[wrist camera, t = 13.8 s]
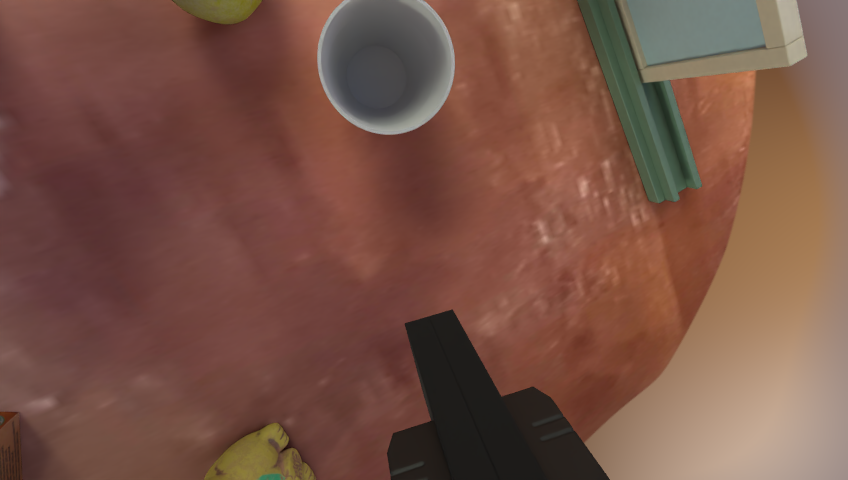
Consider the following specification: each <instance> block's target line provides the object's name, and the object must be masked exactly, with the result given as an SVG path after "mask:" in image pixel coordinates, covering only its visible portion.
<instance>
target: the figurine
mask: <svg viewBox="0 0 848 480" xmlns="http://www.w3.org/2000/svg"><path fill="white" fill-rule="evenodd" d="M288 441H289V438H288V436H287V435H286V433H285V432H284V430H283V428H282V427H281V426H280V425H279V423H272V424H269V425H267V426H265V427H264V428H263V429H261V430H259V431H256V432H253V433H251V434H248V435H246V436H244V437H243V438H241V439H240V440H238V441H237V442H235V443H234V444H233V445H232V446H230V447H229V448H228V449H227V450H226V451H225V452H224V453H223V454H222V455H221V456H220V457H219V459H218V460H217V461H216V462H215V463H214V464H213V465H212V466H211V468H210V469H209V471H208V472H207V474H206V476H205V478H204V480H316V477H315V475H314V474H313V471H312V470H311V469H310V467H309V466H308V465H307V464H306V463H304V462H302V460H301V457H300V455H299V453H298V451H297V450H296V449H295V448H289V449H286V450H283V449H284V448H285V447H286V445H287V444H288ZM282 450H283V451H282Z"/></svg>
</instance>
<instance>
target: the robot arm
mask: <svg viewBox="0 0 848 480" xmlns="http://www.w3.org/2000/svg"><path fill="white" fill-rule="evenodd" d="M405 327H406V330H407V334H408V338H409V342H410V345H411V349H412V353H413V357H414V360H415V364H416V368H417V372H418V375H419V379H420V383H421V387H422V390H423V394H424V398H425V401H426V404H427V408H428V411H429V414H430V418H431V421H430V422H427V423H424V424H421V425H418V426H414V427H411V428H408V429H405V430H402V431H399V432H396V433H393V436H392V439H391V442H390V445H389V448H388V452H387V456H388V463H389V469H390V475H391V480H610V479H609V478H608V476H607V475H606V473H605V472H604V471H603V469H602V468H601V466H600V465H599V464H598V462H597V461H596V460H595V458H594V457H593V455H592V454H591V453H590V451H589V450H588V448H587V447H586V446H585V444H584V443H583V442H582V440H581V439H580V437H579V436H578V435H577V433H576V432H575V431H573V428H572V426H571V425H570V423H569V422H568V421H567V419H566V418H565V417H563V414H562V412H561V411H560V410H559V408H558V407H557V405H556V404H555V403H554V401H553V400H552V399H551V397H549V396H547V395H546V394H544V393H543V392H541V391H539V390H538V389H536V388H535V387H530V388H527V389H524V390H521V391H518V392H515V393H512V394H509V395H506V396H503V397H501V395H500V394H499V392H498V390H497V388H496V386H495V385H494V383H493V381H492V379H491V377H490V376H489V374H488V372H487V370H486V369H485V367H484V365H483V363H482V361H481V360H480V358H479V356H478V354H477V352H476V351H475V349H474V347H473V345H472V343H471V342H470V340H469V338H468V336H467V334H466V333H465V331H464V329H463V327H462V326H461V324H460V322H459V320H458V318H457V317H456V315H455V313H454V311H453V309H452V310H449V311H446V312H442V313H439V314H435V315H432V316H429V317H425V318H422V319H418V320H415V321H412V322H408V323H405Z"/></svg>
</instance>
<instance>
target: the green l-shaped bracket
mask: <svg viewBox="0 0 848 480" xmlns="http://www.w3.org/2000/svg"><path fill="white" fill-rule="evenodd" d="M577 1H578V4H579V7H580V10H581V12H582V15H583V18H584V21H585V23H586V26H587V29H588V32H589V35H590V37H591V40H592V43H593V46H594V49H595V51H596V54H597V57H598V60H599V63H600V65H601V68H602V71H603V74H604V76H605V79H606V82H607V85H608V88H609V90H610V93H611V96H612V99H613V102H614V104H615V107H616V110H617V113H618V116H619V118H620V121H621V124H622V127H623V129H624V132H625V135H626V138H627V141H628V143H629V146H630V149H631V152H632V155H633V157H634V160H635V163H636V166H637V169H638V171H639V174H640V177H641V180H642V183H643V185H644V188H645V191H646V194H647V196H648V199H649V201H652V202H656V203H661V202H662V201H664V200H668V201H672V202H676V201H677V200H679V199H680V198H679V195H678V192H680V191H681V190H683V189H685V188H687V187H689V188H694V189H698V188H700V187H702V184H701V180H700V177H699V174H698V171H697V167H696V164H695V161H694V158H693V154H692V151H691V148H690V145H689V142H688V138H687V135H686V132H685V129H684V125H683V122H682V119H681V116H680V112H679V109H678V106H677V103H676V99H675V96H674V93H673V90H672V87H671V83H670V80H665V81H656V82H648V83H641V81H640V78H639V75H638V72H637V68H636V65H635V62H634V59H633V56H632V53H631V50H630V47H629V44H628V41H627V38H626V35H625V32H624V29H623V26H622V23H621V20H620V17H619V14H618V11H617V8H616V5H615V2H614V0H577Z"/></svg>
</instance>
